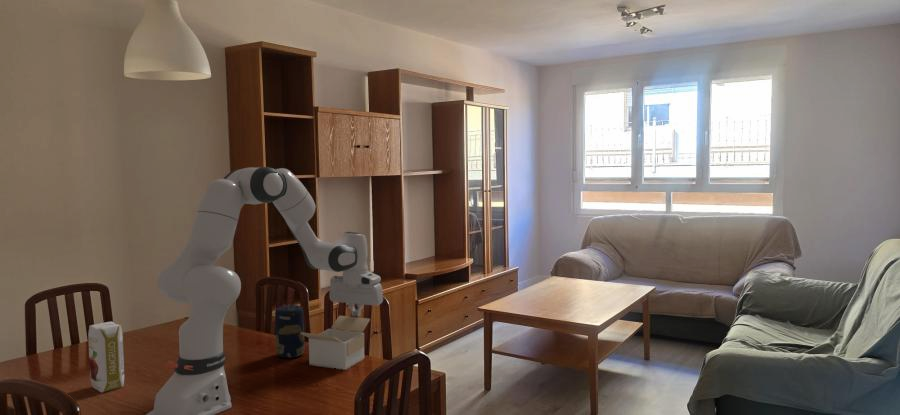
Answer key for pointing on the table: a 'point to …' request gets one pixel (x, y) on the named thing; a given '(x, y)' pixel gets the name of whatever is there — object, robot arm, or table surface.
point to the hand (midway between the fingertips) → (356, 315)
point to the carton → (337, 349)
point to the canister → (289, 331)
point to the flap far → (350, 323)
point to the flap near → (321, 337)
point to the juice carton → (106, 356)
